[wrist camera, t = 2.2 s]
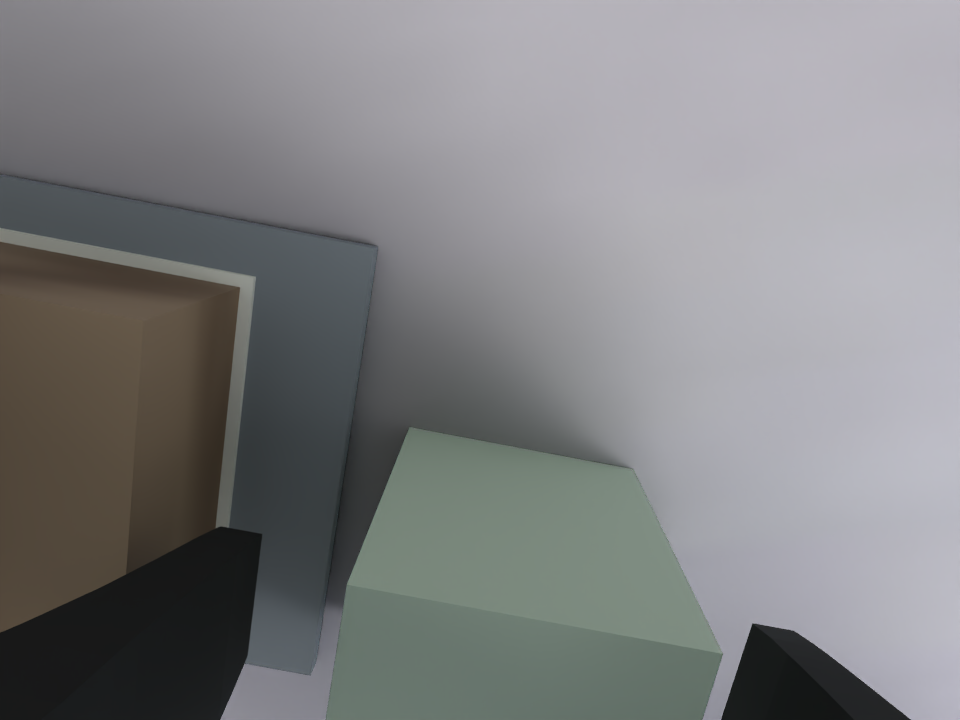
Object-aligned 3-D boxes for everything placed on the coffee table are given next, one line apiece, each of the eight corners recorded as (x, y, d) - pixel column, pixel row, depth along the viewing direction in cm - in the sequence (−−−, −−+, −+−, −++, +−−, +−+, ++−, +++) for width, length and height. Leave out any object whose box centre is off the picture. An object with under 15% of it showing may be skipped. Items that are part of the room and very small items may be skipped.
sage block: (632, 468, 12) (722, 654, 7) (582, 660, 13) (632, 941, 8) (410, 426, 12) (346, 585, 7) (376, 623, 13) (299, 881, 8)
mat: (378, 246, 11) (372, 248, 11) (316, 661, 13) (309, 679, 12) (-169, 141, 11) (-200, 138, 10) (-151, 575, 13) (-177, 591, 12)
